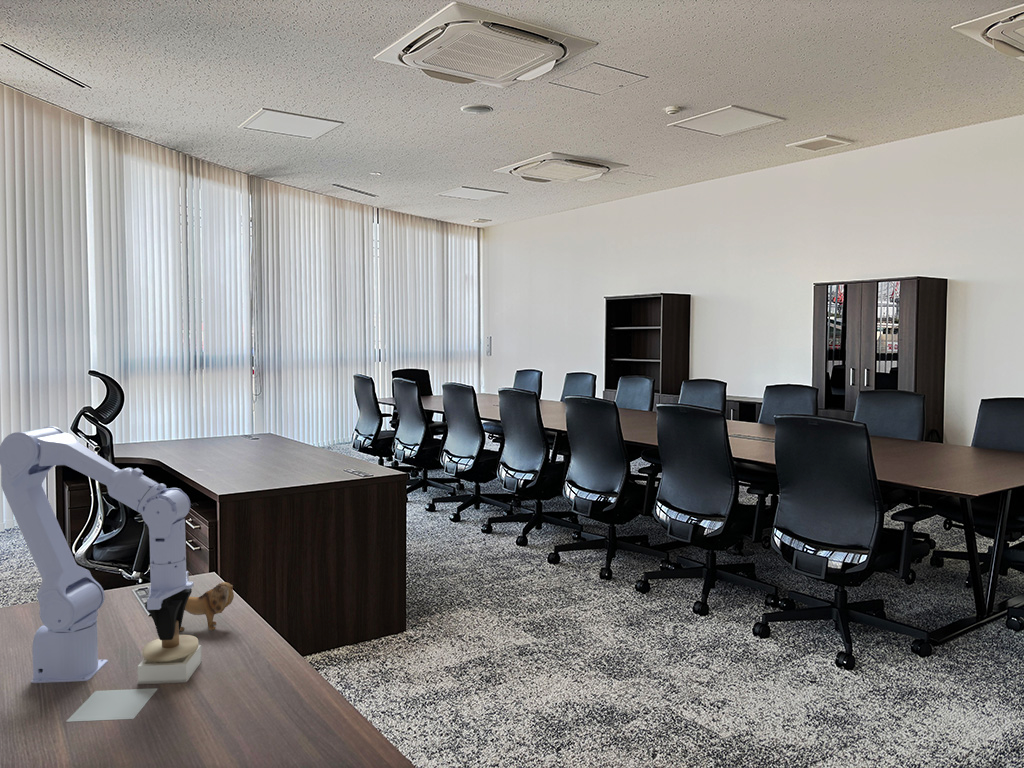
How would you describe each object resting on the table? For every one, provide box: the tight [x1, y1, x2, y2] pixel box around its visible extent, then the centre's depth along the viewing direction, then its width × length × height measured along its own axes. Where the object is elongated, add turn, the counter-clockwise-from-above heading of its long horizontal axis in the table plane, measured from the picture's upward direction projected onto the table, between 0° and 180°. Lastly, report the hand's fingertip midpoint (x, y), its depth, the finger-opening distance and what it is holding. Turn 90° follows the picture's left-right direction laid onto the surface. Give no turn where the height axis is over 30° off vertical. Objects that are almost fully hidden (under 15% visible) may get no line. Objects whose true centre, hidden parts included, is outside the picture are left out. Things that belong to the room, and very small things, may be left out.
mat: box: [65, 688, 159, 723], centre depth 119 cm, size 10×10×1 cm
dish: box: [137, 644, 202, 685], centre depth 130 cm, size 8×8×4 cm
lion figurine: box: [179, 581, 235, 632], centre depth 151 cm, size 15×5×9 cm, turn 103°
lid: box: [141, 620, 200, 662], centre depth 130 cm, size 9×9×5 cm
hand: (169, 635), depth 130 cm, fingers closed on lid, 3 cm apart
